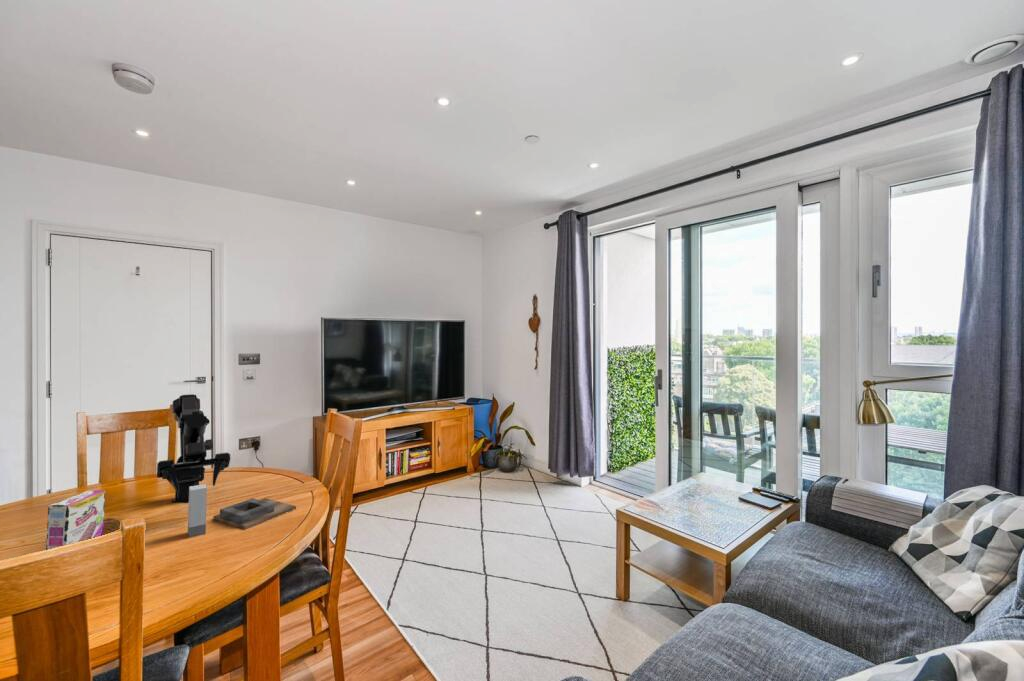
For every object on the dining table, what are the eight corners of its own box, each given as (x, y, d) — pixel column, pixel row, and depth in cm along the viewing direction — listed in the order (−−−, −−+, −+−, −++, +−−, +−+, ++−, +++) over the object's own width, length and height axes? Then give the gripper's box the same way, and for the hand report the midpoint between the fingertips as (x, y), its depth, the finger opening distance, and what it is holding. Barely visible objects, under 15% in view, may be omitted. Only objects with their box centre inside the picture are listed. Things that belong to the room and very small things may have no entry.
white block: (187, 532, 128) (189, 486, 128) (204, 529, 131) (205, 483, 131) (189, 537, 125) (190, 490, 125) (205, 533, 128) (206, 487, 128)
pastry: (115, 539, 123) (115, 526, 123) (83, 545, 120) (83, 532, 120) (122, 527, 131) (122, 514, 131) (92, 532, 128) (93, 519, 128)
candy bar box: (65, 571, 107) (67, 505, 106) (44, 571, 106) (46, 505, 106) (104, 548, 118) (106, 489, 118) (85, 549, 117) (86, 489, 117)
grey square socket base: (213, 519, 138) (213, 508, 138) (264, 500, 155) (265, 491, 155) (245, 529, 132) (245, 518, 132) (296, 509, 148) (296, 499, 148)
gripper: (158, 435, 130) (158, 480, 122) (230, 428, 143) (235, 469, 134) (156, 455, 136) (156, 499, 128) (226, 446, 149) (230, 487, 140)
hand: (196, 488), depth 132 cm, fingers open, 9 cm apart
